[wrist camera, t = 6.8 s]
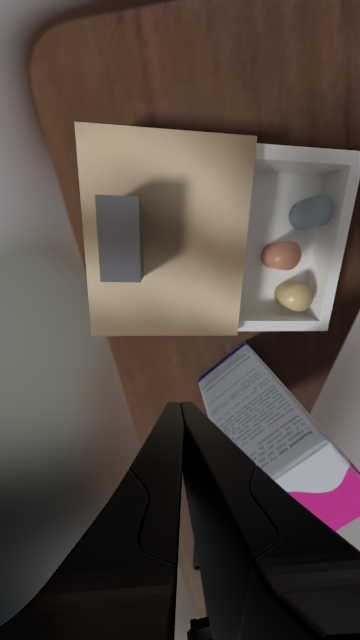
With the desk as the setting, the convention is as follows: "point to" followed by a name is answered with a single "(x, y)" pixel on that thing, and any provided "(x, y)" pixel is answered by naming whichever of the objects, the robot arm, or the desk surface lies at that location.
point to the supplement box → (281, 436)
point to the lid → (164, 228)
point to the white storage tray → (296, 236)
